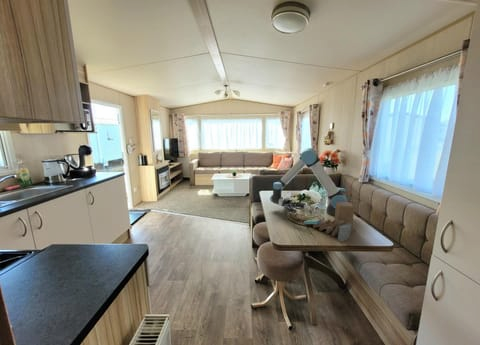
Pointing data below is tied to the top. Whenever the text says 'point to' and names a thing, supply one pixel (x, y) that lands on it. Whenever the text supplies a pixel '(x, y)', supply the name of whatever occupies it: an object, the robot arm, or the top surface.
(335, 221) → the domino
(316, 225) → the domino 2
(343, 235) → the end stop
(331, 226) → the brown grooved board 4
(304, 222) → the domino
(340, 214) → the block
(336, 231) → the domino
